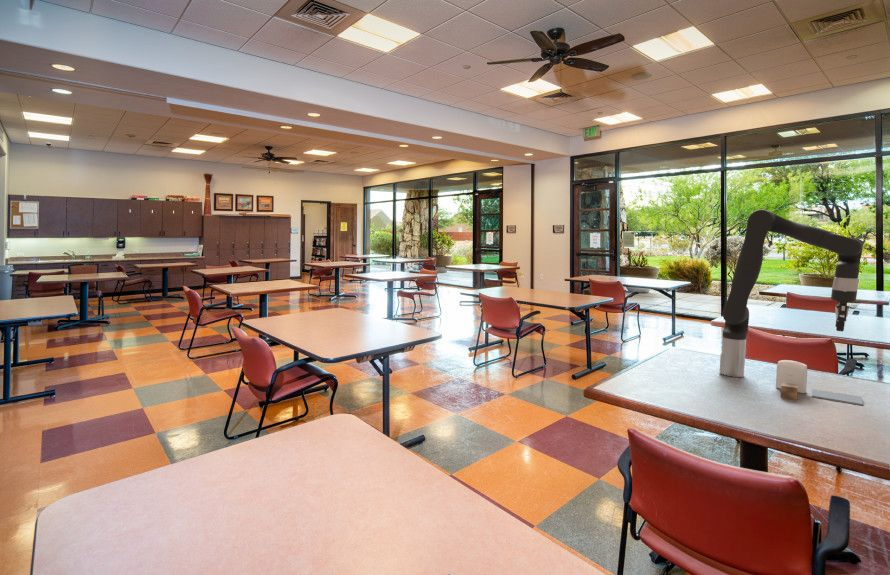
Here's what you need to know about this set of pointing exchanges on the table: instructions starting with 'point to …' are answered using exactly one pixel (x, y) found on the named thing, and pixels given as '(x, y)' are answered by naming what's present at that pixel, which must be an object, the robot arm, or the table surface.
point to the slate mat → (837, 397)
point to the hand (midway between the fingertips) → (839, 329)
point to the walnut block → (789, 391)
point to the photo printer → (792, 374)
